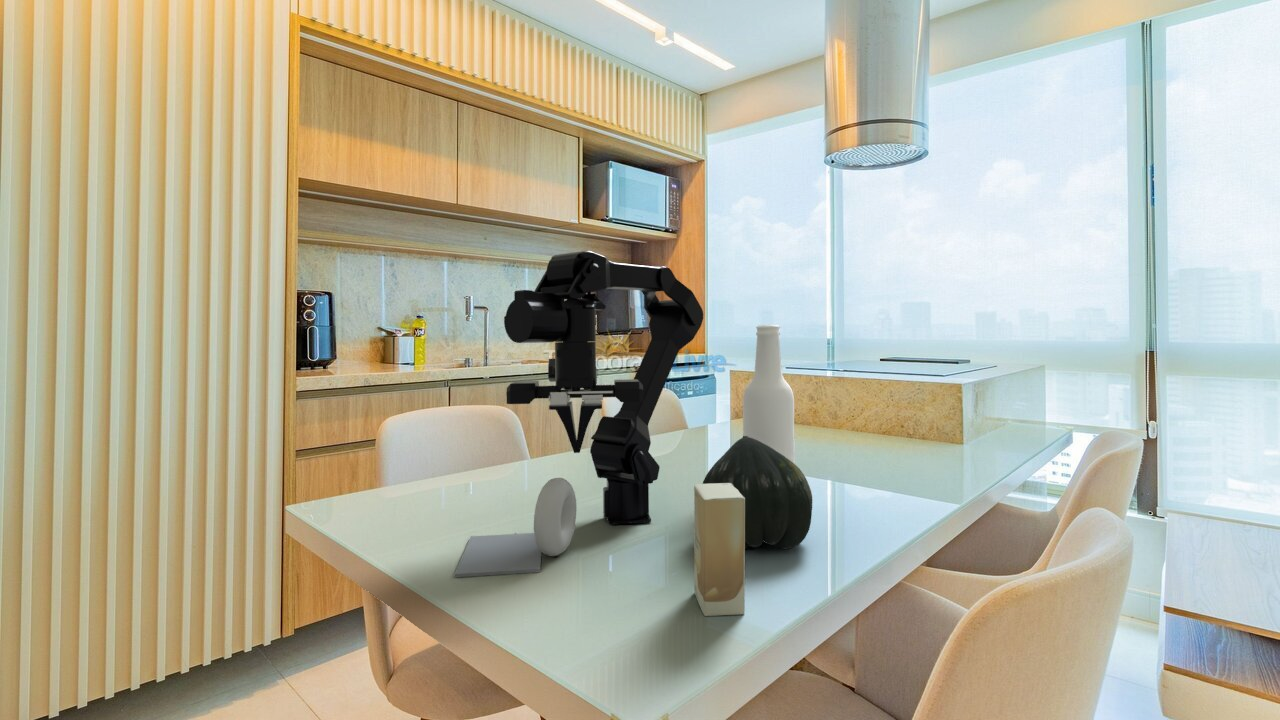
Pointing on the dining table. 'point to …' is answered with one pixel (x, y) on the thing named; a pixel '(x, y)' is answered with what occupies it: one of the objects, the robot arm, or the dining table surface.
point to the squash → (766, 493)
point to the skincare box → (719, 549)
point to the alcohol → (769, 397)
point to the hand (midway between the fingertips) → (577, 452)
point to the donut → (555, 516)
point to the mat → (500, 555)
